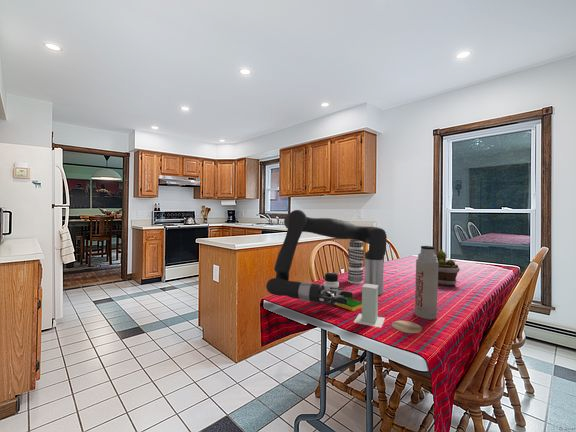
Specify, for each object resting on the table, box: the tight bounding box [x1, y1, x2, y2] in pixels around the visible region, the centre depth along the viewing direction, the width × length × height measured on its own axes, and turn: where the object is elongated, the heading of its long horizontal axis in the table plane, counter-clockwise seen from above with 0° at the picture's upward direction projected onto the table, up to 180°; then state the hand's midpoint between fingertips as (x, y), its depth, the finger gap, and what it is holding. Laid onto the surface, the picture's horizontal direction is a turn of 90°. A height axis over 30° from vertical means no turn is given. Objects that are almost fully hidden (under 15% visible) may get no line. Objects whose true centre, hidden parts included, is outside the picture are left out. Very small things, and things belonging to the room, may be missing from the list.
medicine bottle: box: [322, 272, 340, 290], centre depth 133 cm, size 7×7×12 cm
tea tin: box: [361, 283, 379, 324], centre depth 108 cm, size 5×5×13 cm
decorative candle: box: [347, 239, 365, 285], centre depth 164 cm, size 9×9×25 cm
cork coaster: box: [391, 320, 423, 334], centre depth 102 cm, size 10×10×1 cm
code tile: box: [353, 312, 386, 328], centre depth 108 cm, size 10×10×1 cm
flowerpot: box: [435, 249, 460, 287], centre depth 161 cm, size 14×15×20 cm
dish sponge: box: [334, 297, 362, 312], centre depth 125 cm, size 7×14×2 cm, turn 44°
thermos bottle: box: [414, 245, 439, 320], centre depth 113 cm, size 8×8×28 cm
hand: (350, 298), depth 111 cm, fingers open, 8 cm apart
